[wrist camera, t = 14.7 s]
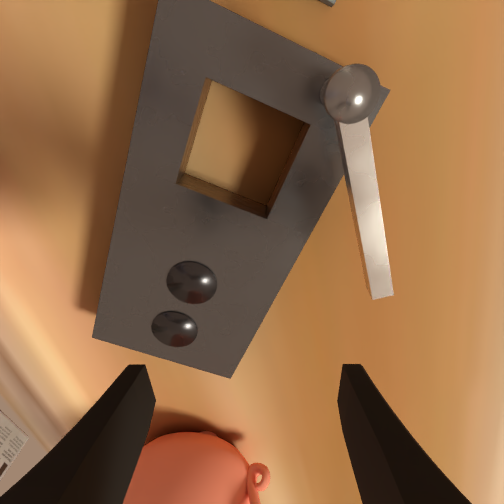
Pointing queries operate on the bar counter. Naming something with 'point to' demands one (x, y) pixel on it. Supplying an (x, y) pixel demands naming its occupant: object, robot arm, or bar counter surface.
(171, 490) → the sugar bowl
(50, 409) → the bar counter surface
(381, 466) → the robot arm
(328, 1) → the mat
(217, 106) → the bar counter surface
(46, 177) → the bar counter surface
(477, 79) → the bar counter surface
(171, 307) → the grey lever panel
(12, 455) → the coffee box
